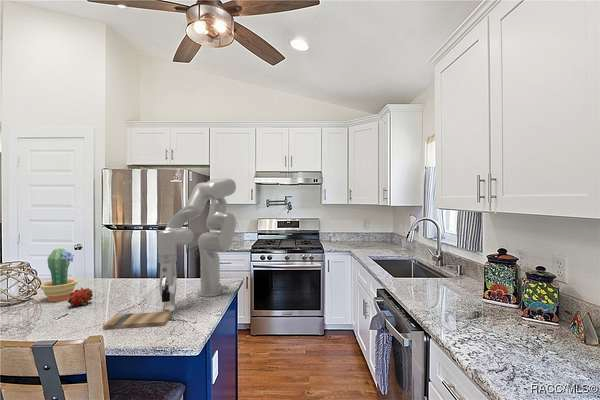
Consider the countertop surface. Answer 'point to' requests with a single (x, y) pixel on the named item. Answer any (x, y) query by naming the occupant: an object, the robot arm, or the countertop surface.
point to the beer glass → (171, 304)
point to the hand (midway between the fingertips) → (168, 298)
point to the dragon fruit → (80, 297)
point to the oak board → (138, 320)
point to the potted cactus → (59, 276)
